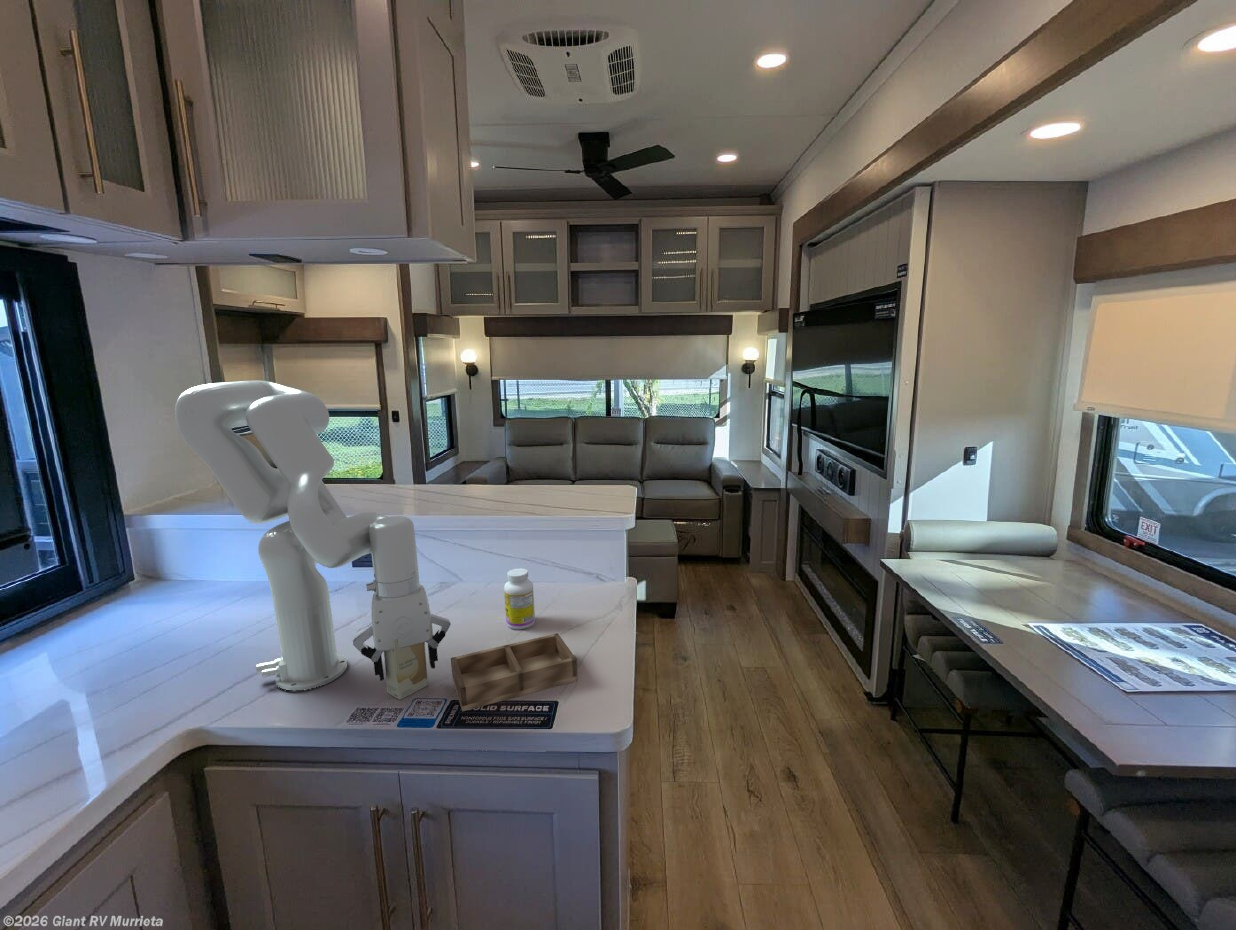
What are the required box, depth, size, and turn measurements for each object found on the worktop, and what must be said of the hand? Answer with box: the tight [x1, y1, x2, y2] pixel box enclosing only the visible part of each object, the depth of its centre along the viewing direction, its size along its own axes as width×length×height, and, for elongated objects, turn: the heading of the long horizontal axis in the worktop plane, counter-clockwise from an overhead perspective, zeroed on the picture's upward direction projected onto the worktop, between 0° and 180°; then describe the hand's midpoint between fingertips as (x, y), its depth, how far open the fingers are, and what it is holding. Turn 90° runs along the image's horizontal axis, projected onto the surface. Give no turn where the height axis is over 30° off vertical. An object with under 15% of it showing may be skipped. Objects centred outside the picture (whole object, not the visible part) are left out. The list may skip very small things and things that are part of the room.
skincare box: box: [383, 638, 429, 700], centre depth 106 cm, size 6×4×12 cm
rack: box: [450, 633, 578, 712], centre depth 109 cm, size 22×11×4 cm, turn 114°
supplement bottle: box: [503, 568, 536, 630], centre depth 131 cm, size 7×7×13 cm
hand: (407, 670), depth 107 cm, fingers open, 8 cm apart
